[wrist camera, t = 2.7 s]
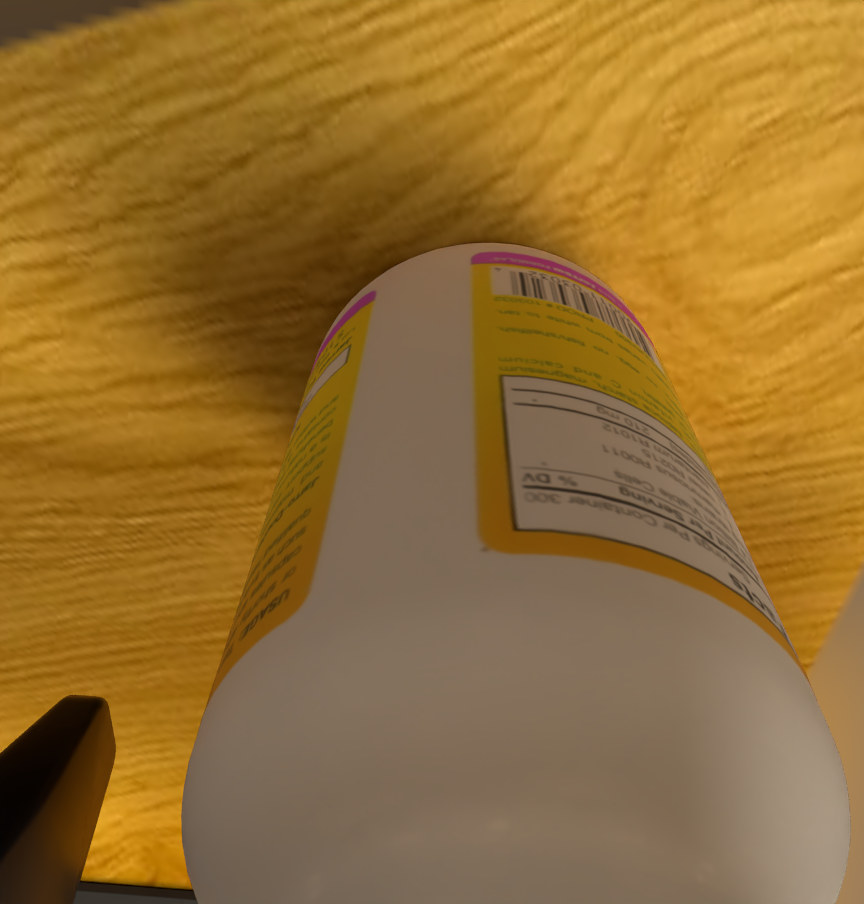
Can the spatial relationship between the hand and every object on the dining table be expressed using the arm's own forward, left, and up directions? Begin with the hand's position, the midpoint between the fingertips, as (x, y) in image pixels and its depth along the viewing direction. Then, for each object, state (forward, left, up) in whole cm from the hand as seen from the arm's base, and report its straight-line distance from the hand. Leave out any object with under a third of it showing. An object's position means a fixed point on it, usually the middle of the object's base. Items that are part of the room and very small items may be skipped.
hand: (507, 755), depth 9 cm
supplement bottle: (0, 0, -8) cm, 9 cm away
